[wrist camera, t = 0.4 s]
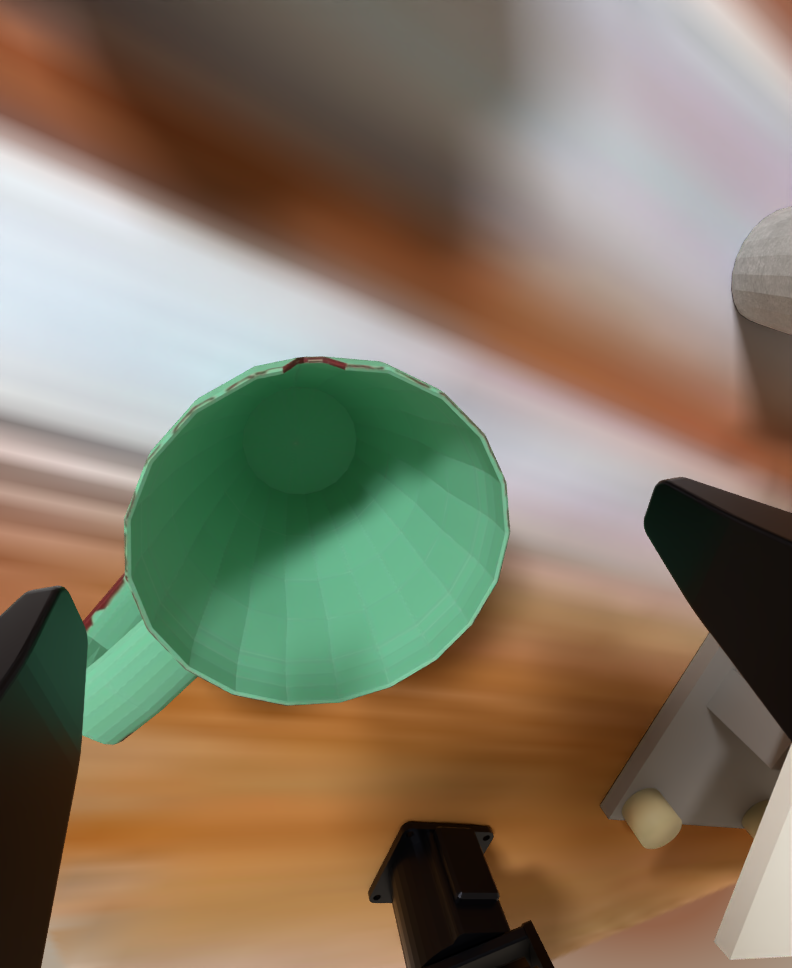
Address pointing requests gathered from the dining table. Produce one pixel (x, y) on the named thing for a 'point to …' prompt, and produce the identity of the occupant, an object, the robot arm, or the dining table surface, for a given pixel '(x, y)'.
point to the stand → (701, 757)
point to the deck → (764, 884)
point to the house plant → (766, 273)
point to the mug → (298, 544)
